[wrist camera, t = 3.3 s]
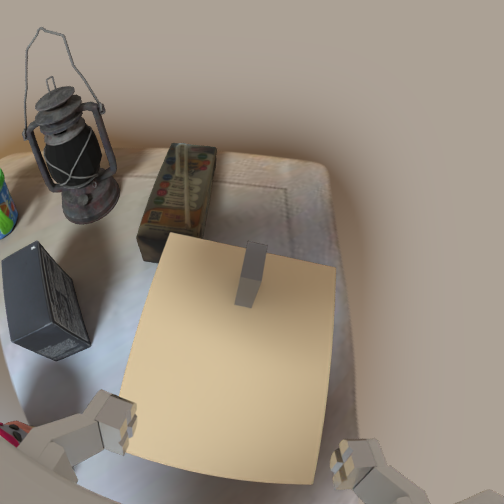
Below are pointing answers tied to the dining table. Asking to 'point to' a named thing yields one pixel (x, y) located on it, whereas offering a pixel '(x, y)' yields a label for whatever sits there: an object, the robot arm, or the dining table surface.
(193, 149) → the beverage carton
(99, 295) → the dining table surface
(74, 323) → the small box
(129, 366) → the lid flap
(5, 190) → the snack cup
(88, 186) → the lantern
